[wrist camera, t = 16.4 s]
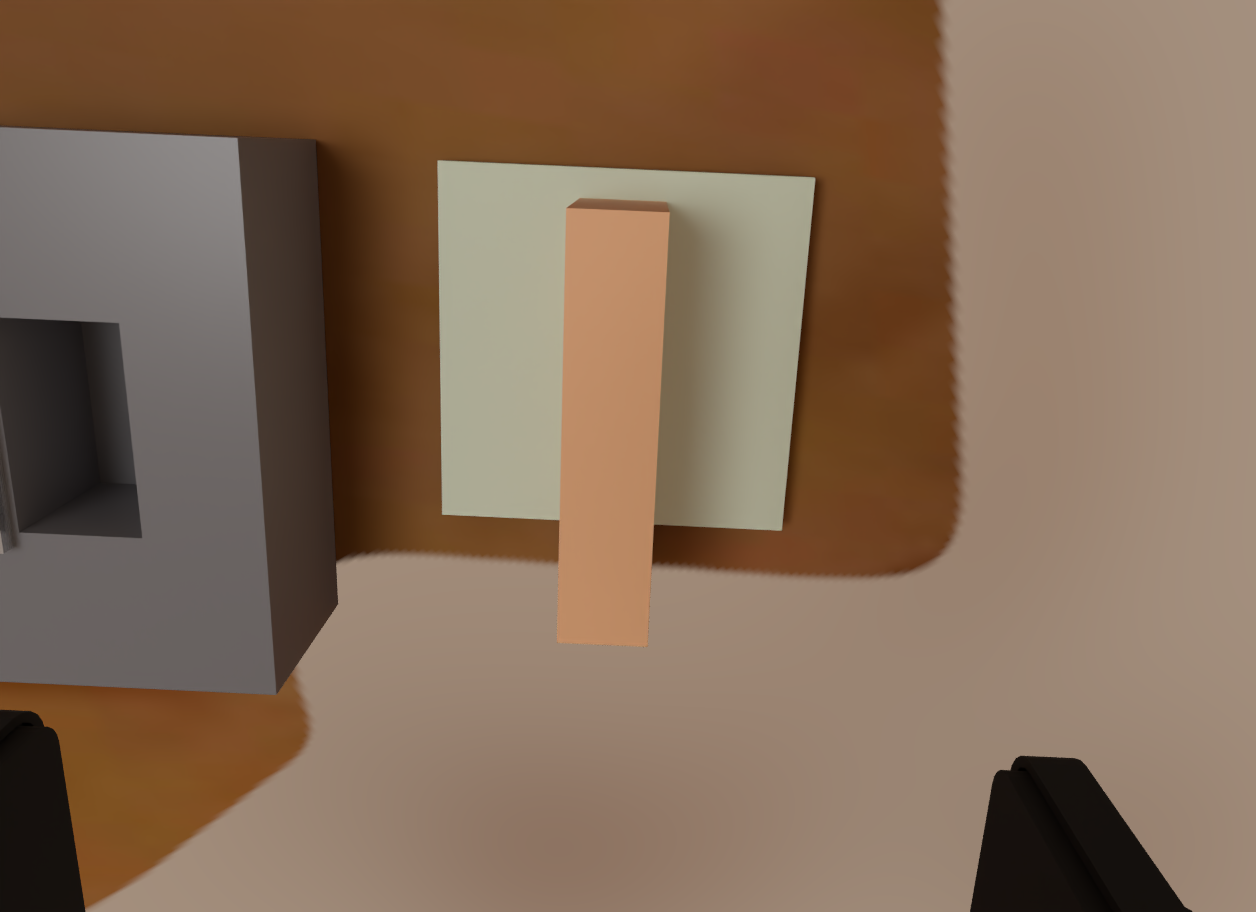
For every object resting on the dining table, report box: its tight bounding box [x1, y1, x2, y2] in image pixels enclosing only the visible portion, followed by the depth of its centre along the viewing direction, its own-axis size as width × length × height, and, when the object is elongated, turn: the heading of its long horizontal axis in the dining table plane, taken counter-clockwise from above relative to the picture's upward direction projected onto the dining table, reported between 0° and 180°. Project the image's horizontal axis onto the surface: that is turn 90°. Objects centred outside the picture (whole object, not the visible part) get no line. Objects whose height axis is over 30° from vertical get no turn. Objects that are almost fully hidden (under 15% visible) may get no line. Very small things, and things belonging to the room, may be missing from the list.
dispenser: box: [0, 125, 338, 695], centre depth 34 cm, size 12×18×8 cm, turn 178°
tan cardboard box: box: [557, 198, 670, 647], centre depth 34 cm, size 3×6×14 cm
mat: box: [438, 160, 815, 531], centre depth 37 cm, size 13×13×1 cm
